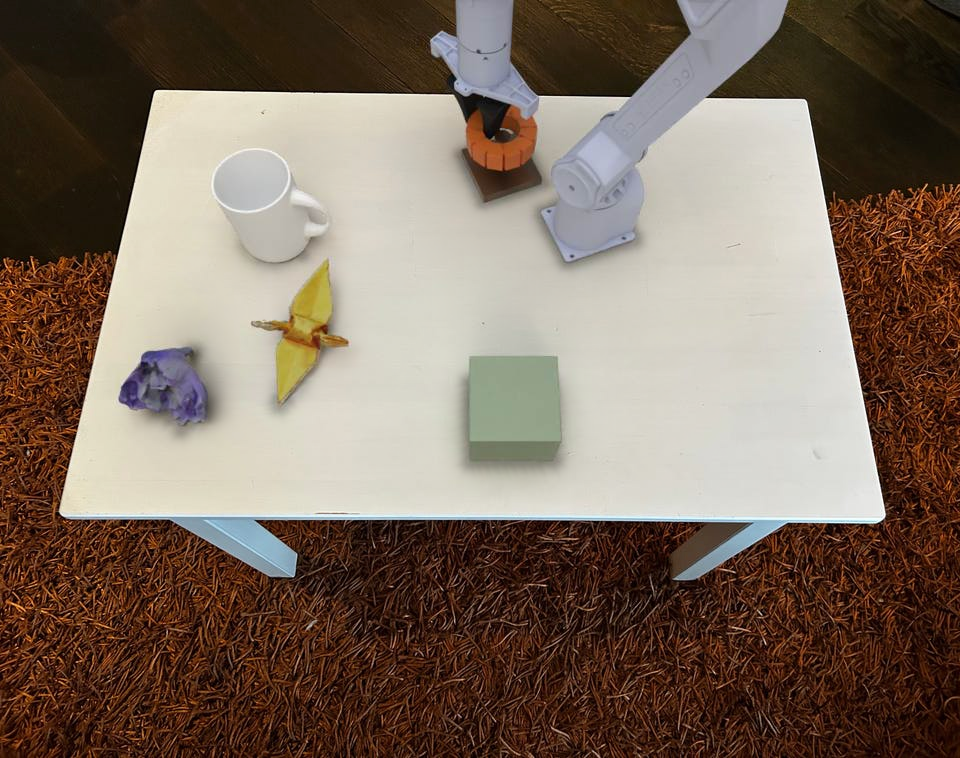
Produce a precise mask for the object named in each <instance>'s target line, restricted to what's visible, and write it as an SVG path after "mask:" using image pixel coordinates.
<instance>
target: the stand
mask: <svg viewBox="0 0 960 758" xmlns="http://www.w3.org/2000/svg"><path fill="white" fill-rule="evenodd" d="M516 137H518V136H517V134H515V133H514V132H512V133H511V132H510V131H508V129H500V130H499V131H497V132H496V133H495V136H494V137H493V138H492V139H491V140H490V141H492V142H495V143H501V144H504V143H507V142H511V141H513V140H514V139H515V138H516ZM460 153H461V154H460V155H461V158H462V160H463V162H464V164H465V166H466V168H467V171H468V172H469V175H470V177H471V179H472V181H473V183H474V186H475V187H476V190H477V192H478V193H479V195H480V198H481V200H482V202H483V203H486V202H487V203H488V202H490V201H493V200H496V199H499V198H502V197H506V196H509V195H511V194H515V193H517V192H520V191H523V190H527V189H530V188H532V187H536V186H539V185H541V184H542V181H543V176H542V175H541V173H540V171H539V169H538V167H537V166H536V164H535V162H534V160H533V157H530V158H529V159H528V160H527V161H526V162H525V163H524V164H523V165H522V164H520V167H516V168H513V169H509V170H506V171H505V169H504V167H503V170H502V171H500V170H494V169H487V165H486V166H485V167H483V166H482V165H480V164H479V163H478V162H476V161H475V160H473V157H471V156H470V153H469V151H468V148H467V147H465V148H462V149H460Z"/></svg>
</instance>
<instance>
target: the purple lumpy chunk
mask: <svg viewBox="0 0 960 758" xmlns="http://www.w3.org/2000/svg"><path fill="white" fill-rule="evenodd" d="M194 352H195V351H194V349H193V348H192V347H189V346H184V347H179V348H177V347H169V348H163V349H158V350H146V351H144V352H143V353H142V354H141V355H140V362H139V363H138V364H137V366H136V367H135V368H134V369H133V371H131V372H130V374H129V375H128V377H127V378H126V379H125V381H124V382H123V383H122V385H121V386H120V391H119V395H118V402H119V403H120V404H122V405H124V406H127V407H128V408H129V410H131V411H136V412H138V411H139V410H150V411H153V412H155V413H159V412H163V411H165V410H167V411H169V413H171V414H172V420H177V419H179V418H180V420H179V421H178V422H177V425H180V426H184V425H185V424H186V422H187V421H190V422H192V423H194V424H197V423H198V422H201V423H202V424H204V423H205V421H206V418H207V407H208V391H207V387H206V385H205V384H204V381H202V379H201V378H200V376H199V374H198V372H197V370H196V369H195V368H194V367H192V366H191V365H190V364H189V363H188V361H187V357H192V356H193V354H194Z"/></svg>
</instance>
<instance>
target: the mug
mask: <svg viewBox="0 0 960 758" xmlns="http://www.w3.org/2000/svg"><path fill="white" fill-rule="evenodd" d="M210 188H211V192H212V196H213V197H214V199H215V201H216V202H217V204H218V206H219V208H220V209H221V211H222V212H223V214H224V215H225V217H226V219H227V220H228V222H229V224H230V225H231V228H232V229H233V230H234V232H235V234H236V236H237V237H238V239H239V241H240V242H241V243H242V246H243V247H244V248H245V249H246V251H247V252H248V253H249V254H250V255H251V256H253V257H254V258H256V259H257V260H260V261H262V262H267V263H283V262H287V261H290V260H291V259H294V258H296V257H297V256H299V255H300V254H301V253H302V252H303V251H305V249H306V247H307V246H308V244H309V243H310V240H311V238H314V237H320V236H323V235H324V234H326V233H327V232H328V231H330V229H331V227H332V217H331V214H330V212H329V210H328V209H327V207H326V206H325V205H324V204H323V203H322V202H321V201H320V200H319V199H317V198H315V197H314V196H312V195H310V194H309V193H306V192H305V191H302V190H301V189H299V188H298V186H297V183H296V181H295V179H294V177H293V174H292V171H291V169H290V166H289V164H288V163H287V161H286V159H284V158H283V156H281V155H280V154H278V153H276V152H275V151H272V150H270V149H266V148H262V147H250V148H244V149H241V150H237V151H235V152H233V153H231V154H229V155H228V156H227V157H224V158H223V159H222V160H221V161H220V162H219V163H218V164H217V166H216V167H215V169H214V171H213V174H212V176H211V182H210ZM307 208H310V209H313V210H316V211H318V212H320V213H321V214H323V215H324V216H325V218H327V222H326V223H324V224H319V223H315V222H313V221H311V218H310V216H309V213H308V210H307Z"/></svg>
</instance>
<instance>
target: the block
mask: <svg viewBox="0 0 960 758" xmlns="http://www.w3.org/2000/svg"><path fill="white" fill-rule="evenodd" d="M468 357H469V358H468V360H469V362H468V363H469V365H468V369H469V370H468V372H469V375H468V378H469V380H468V393H469V394H468V401H469V402H468V419H469V420H468V447H469V462H553V461H554V459H555V457H556V454H557V451H558V450H559V447H560V445H561V443H562V441H563V439H562V438H563V437H562V421H561V419H562V417H561V401H560V400H561V399H560V397H561V396H560V381H559V379H560V378H559V361H558V357H559V356H557V355H526V356H525V355H523V356H522V355H497V356H496V355H495V356H494V355H470V356H468Z"/></svg>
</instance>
